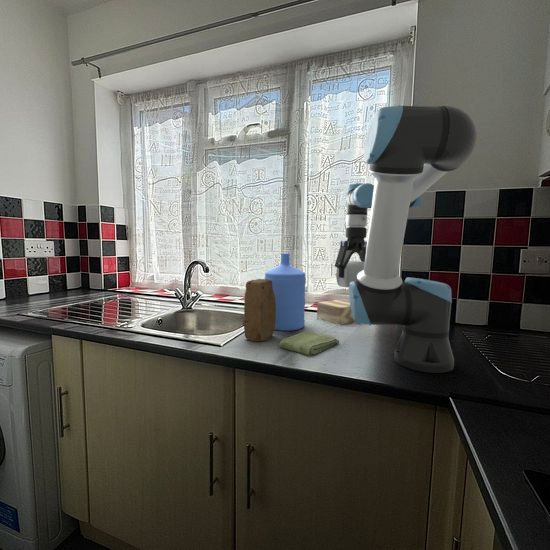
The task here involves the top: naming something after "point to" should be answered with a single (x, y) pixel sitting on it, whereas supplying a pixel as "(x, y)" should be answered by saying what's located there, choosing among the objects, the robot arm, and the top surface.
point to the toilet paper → (351, 271)
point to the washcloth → (308, 342)
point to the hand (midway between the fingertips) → (353, 285)
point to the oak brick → (335, 311)
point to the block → (259, 310)
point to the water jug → (288, 295)
